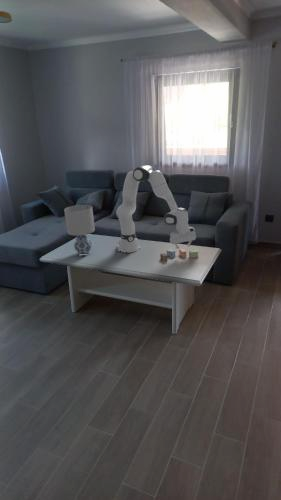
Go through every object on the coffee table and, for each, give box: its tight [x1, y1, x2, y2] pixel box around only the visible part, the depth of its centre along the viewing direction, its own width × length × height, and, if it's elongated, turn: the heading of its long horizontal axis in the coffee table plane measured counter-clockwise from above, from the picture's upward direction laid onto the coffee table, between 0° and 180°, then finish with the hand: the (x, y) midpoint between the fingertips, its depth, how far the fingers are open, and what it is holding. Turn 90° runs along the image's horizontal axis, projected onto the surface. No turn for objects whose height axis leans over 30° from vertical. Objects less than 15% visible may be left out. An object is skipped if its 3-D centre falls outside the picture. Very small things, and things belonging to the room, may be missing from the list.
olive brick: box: [188, 249, 199, 259], centre depth 259 cm, size 6×3×4 cm, turn 110°
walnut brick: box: [159, 252, 168, 262], centre depth 257 cm, size 6×3×4 cm, turn 20°
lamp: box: [63, 204, 95, 255], centre depth 274 cm, size 22×22×38 cm
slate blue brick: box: [166, 249, 176, 258], centre depth 264 cm, size 6×3×4 cm, turn 50°
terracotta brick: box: [178, 248, 187, 258], centre depth 262 cm, size 6×3×4 cm, turn 20°
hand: (183, 247), depth 261 cm, fingers open, 8 cm apart
